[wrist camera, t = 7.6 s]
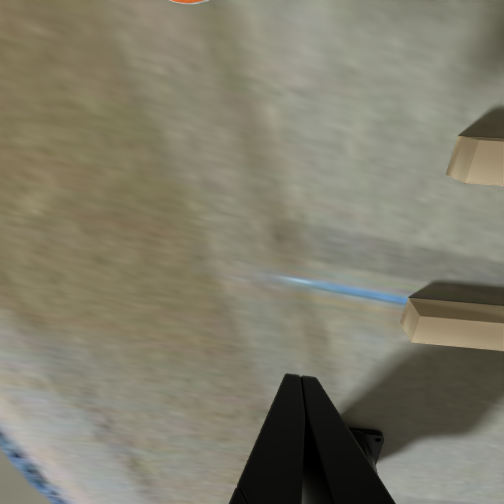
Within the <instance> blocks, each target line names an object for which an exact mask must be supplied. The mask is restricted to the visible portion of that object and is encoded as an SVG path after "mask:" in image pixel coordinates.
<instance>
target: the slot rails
mask: <svg viewBox="0 0 504 504" xmlns="http://www.w3.org/2000/svg"><path fill="white" fill-rule="evenodd" d="M446 175H448V176H450V177H453V178H455V179H457V180H459V181H462V182H464V183H472V184H487V185H501V186H504V139H501V138H484V137H468V136H458V137H457V141H456V144H455V147H454V150H453V154H452V157H451V160H450V163H449V167H448V170H447V173H446ZM401 324H402V326H403V328H404V330H405V332H406V333H407V335H408V337H409V339H410V341H411V342H413V343H424V344H434V345H445V346H456V347H467V348H477V349H488V350H499V351H504V306H499V305H487V304H476V303H464V302H452V301H441V300H429V299H418V298H408V300H407V303H406V306H405V310H404V313H403V316H402V319H401Z"/></svg>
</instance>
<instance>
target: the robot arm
mask: <svg viewBox="0 0 504 504" xmlns="http://www.w3.org/2000/svg"><path fill="white" fill-rule="evenodd" d="M383 443H384V436H383V434H382V433H381V432H379V431H372V430H362V429H353V428H348V427H347V425H346V424H345V422H344V421H343V419H342V417H341V416H340V414H339V413H338V411H337V409H336V408H335V406H334V405H333V403H332V401H331V400H330V398H329V397H328V395H327V393H326V392H325V390H324V389H323V387H322V385H321V384H320V382H319V381H318V379H317V378H316V377H312V376H304V375H303V376H301V377H300V376H299V375H296V374H288V373H287V374H285V375H284V378H283V380H282V382H281V385H280V387H279V389H278V392H277V394H276V396H275V398H274V401H273V403H272V405H271V408H270V410H269V412H268V415H267V417H266V419H265V422H264V424H263V426H262V429H261V431H260V433H259V435H258V438H257V440H256V442H255V445H254V447H253V449H252V452H251V454H250V456H249V459H248V461H247V463H246V465H245V468H244V470H243V472H242V475H241V477H240V479H239V482H238V484H237V488H235V490H234V493H233V495H232V497H231V500H230V502H229V504H396V503H395V502H394V500H393V499H392V497H391V495H390V494H389V492H388V491H387V489H386V487H385V486H384V484H383V483H382V481H381V479H380V478H379V476H378V473H377V469H376V463H377V460H378V457H379V454H380V451H381V448H382V446H383Z"/></svg>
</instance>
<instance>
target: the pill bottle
mask: <svg viewBox="0 0 504 504" xmlns="http://www.w3.org/2000/svg"><path fill="white" fill-rule="evenodd" d="M170 1H172V2H176V3H181V4H198V3H203V2H207V1H209V0H170Z"/></svg>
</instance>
